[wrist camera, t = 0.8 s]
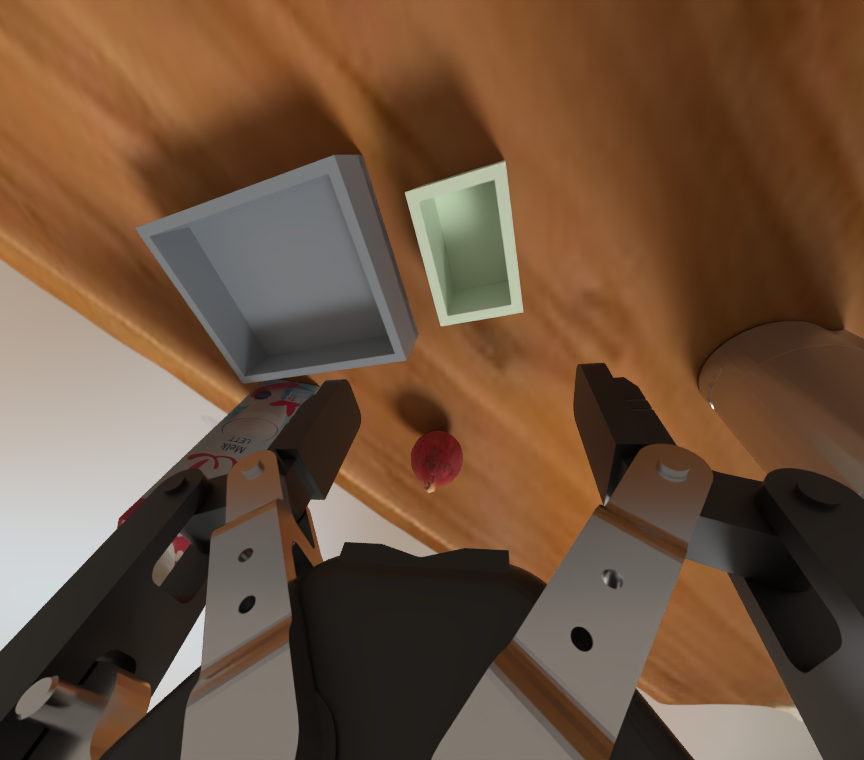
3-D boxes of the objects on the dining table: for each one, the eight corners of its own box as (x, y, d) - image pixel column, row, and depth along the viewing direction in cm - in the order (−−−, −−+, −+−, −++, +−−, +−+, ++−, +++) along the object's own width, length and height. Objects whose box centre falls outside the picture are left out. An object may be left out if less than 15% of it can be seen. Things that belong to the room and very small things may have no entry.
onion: (419, 412, 38) (402, 466, 31) (468, 420, 37) (461, 477, 31) (417, 446, 41) (402, 501, 35) (462, 454, 40) (455, 511, 34)
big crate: (362, 154, 24) (334, 154, 20) (418, 334, 32) (406, 360, 28) (185, 217, 29) (134, 228, 25) (271, 358, 37) (243, 384, 33)
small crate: (504, 159, 23) (505, 161, 18) (519, 284, 27) (523, 312, 22) (424, 184, 24) (404, 192, 19) (450, 297, 29) (440, 326, 24)
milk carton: (267, 377, 39) (68, 566, 21) (319, 385, 38) (160, 588, 20) (279, 417, 43) (119, 606, 25) (326, 426, 42) (198, 627, 24)
